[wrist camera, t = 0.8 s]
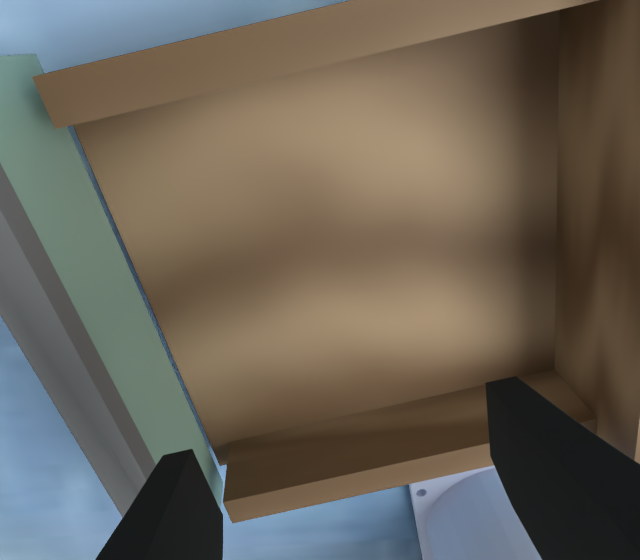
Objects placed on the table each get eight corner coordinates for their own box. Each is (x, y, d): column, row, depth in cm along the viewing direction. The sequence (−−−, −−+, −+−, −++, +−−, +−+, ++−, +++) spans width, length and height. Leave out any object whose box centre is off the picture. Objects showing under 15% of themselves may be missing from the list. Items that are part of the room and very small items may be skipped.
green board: (225, 482, 21) (212, 602, 16) (198, 488, 21) (178, 609, 16) (39, 53, 13) (-82, 59, 9) (-4, 63, 13) (-145, 74, 9)
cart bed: (569, 370, 22) (666, 479, 16) (222, 448, 22) (205, 580, 17) (581, -50, 14) (764, -104, 9) (65, 74, 15) (-55, 92, 9)
